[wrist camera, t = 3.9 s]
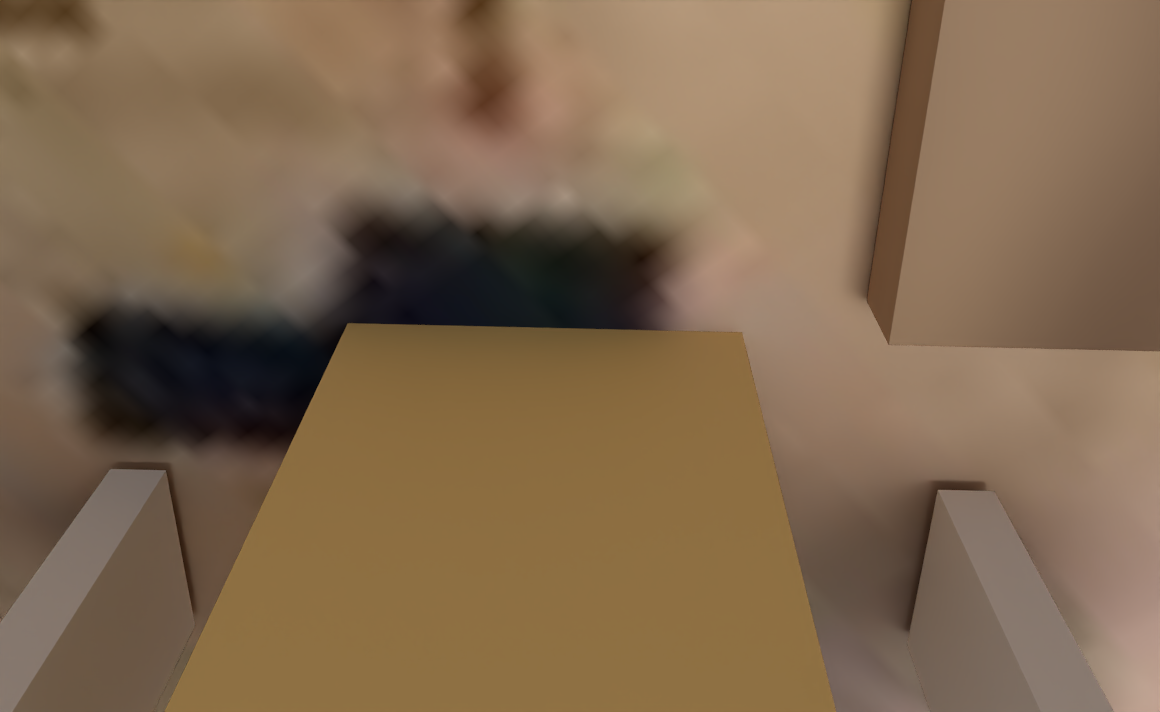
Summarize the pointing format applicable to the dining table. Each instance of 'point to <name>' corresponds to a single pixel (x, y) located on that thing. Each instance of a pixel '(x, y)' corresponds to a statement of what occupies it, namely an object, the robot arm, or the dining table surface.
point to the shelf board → (1024, 178)
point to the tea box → (519, 536)
